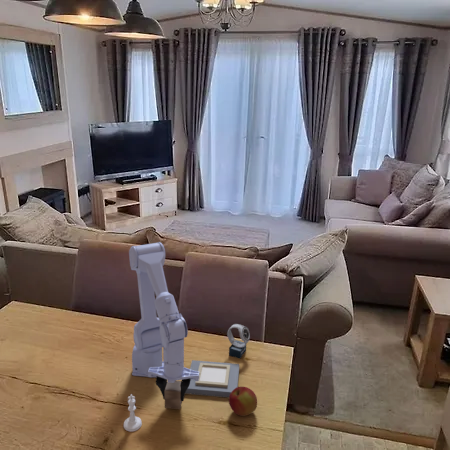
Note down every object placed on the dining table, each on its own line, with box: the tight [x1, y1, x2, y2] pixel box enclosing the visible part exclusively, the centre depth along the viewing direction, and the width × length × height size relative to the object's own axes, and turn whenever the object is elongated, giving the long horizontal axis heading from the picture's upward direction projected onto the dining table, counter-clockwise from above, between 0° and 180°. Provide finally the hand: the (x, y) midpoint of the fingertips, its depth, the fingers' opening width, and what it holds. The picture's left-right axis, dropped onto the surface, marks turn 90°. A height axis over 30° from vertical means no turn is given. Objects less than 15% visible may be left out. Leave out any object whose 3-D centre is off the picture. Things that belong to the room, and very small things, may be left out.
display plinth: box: [185, 359, 240, 398], centre depth 133 cm, size 16×14×3 cm
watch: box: [226, 323, 251, 360], centre depth 146 cm, size 6×8×11 cm
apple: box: [228, 386, 258, 417], centre depth 119 cm, size 8×8×8 cm
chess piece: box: [123, 393, 143, 432], centre depth 113 cm, size 5×5×10 cm
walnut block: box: [164, 380, 183, 410], centre depth 120 cm, size 4×4×6 cm
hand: (174, 398), depth 121 cm, fingers closed on walnut block, 4 cm apart
